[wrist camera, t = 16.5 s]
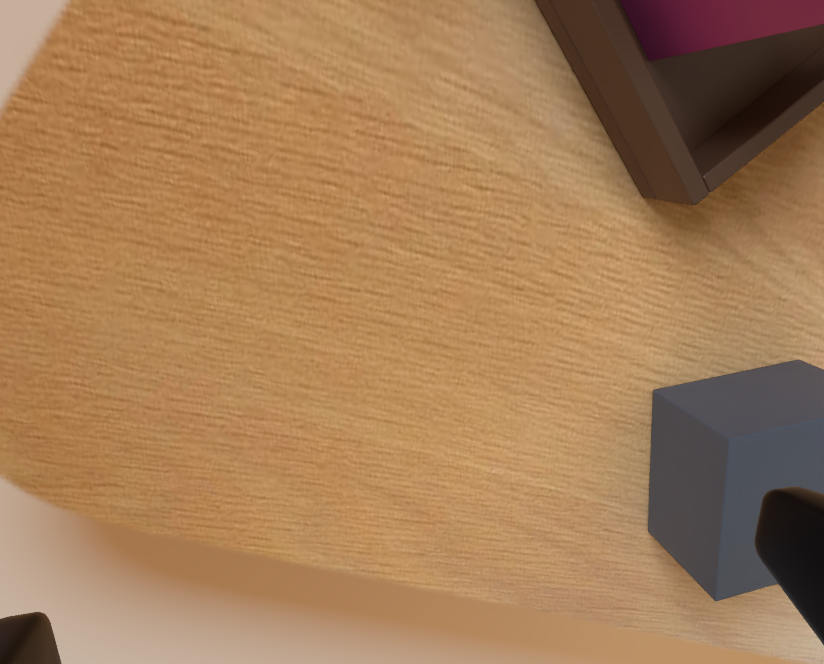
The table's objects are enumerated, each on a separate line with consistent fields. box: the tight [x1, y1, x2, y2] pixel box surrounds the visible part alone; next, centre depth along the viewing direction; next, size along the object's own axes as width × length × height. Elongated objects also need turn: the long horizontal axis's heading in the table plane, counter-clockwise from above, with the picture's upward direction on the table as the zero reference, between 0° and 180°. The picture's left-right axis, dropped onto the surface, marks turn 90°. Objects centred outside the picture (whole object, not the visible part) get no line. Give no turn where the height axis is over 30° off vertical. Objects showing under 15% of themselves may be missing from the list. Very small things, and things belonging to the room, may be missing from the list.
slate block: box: [648, 360, 824, 601], centre depth 22 cm, size 6×6×4 cm
